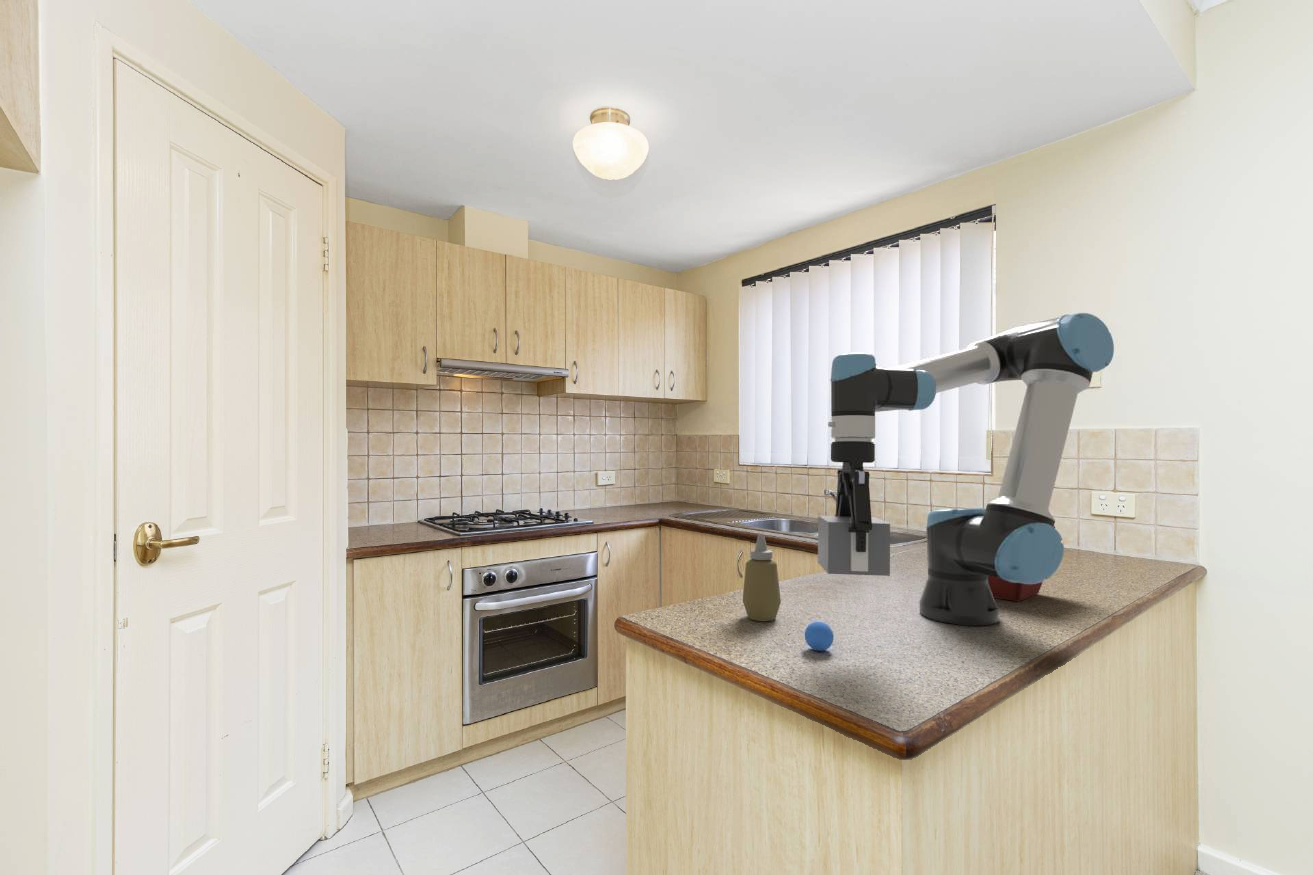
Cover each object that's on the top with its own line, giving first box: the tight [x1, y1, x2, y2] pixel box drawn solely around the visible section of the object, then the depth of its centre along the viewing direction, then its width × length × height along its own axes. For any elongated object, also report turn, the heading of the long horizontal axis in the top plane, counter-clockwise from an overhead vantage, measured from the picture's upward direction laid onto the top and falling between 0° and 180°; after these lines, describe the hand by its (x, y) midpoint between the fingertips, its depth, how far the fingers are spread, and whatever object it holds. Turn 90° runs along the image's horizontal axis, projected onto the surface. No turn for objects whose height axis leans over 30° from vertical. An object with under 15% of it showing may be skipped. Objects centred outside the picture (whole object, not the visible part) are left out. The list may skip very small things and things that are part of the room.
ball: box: [804, 621, 835, 652], centre depth 106 cm, size 5×5×5 cm
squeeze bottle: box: [742, 532, 782, 622], centre depth 126 cm, size 8×8×18 cm
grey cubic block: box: [817, 515, 891, 577], centre depth 106 cm, size 10×10×9 cm
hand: (851, 564), depth 106 cm, fingers closed on grey cubic block, 10 cm apart
